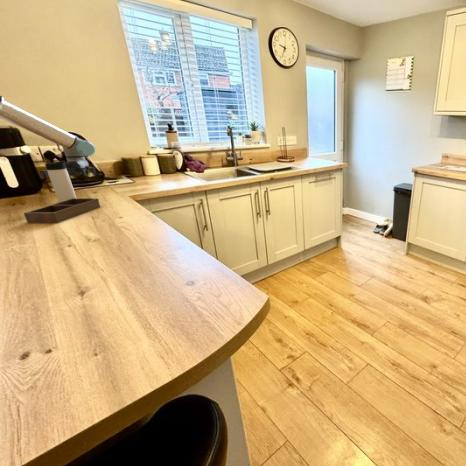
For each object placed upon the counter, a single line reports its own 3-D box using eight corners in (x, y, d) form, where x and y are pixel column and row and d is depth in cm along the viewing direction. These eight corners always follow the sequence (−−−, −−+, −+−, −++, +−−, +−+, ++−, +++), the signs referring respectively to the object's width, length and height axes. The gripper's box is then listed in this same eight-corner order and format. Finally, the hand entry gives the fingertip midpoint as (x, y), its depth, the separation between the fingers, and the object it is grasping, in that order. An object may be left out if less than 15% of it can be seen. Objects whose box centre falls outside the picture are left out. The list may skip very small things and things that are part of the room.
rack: (28, 223, 110) (23, 213, 108) (75, 207, 130) (72, 198, 128) (58, 223, 110) (53, 213, 109) (100, 207, 130) (97, 198, 129)
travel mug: (78, 206, 132) (63, 161, 125) (59, 208, 129) (42, 162, 121) (80, 202, 137) (65, 160, 130) (62, 204, 133) (45, 161, 126)
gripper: (106, 173, 159) (100, 179, 143) (44, 177, 147) (30, 185, 130) (102, 159, 157) (96, 164, 140) (39, 162, 144) (23, 168, 128)
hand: (64, 174), depth 135 cm, fingers open, 13 cm apart
